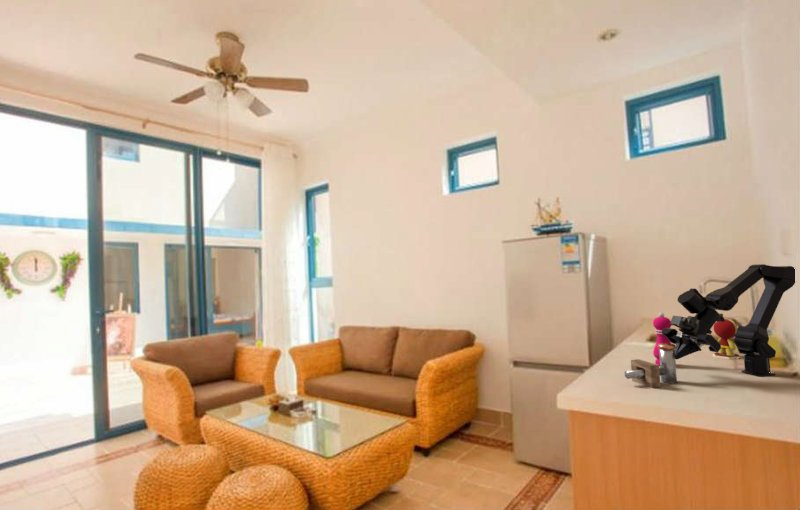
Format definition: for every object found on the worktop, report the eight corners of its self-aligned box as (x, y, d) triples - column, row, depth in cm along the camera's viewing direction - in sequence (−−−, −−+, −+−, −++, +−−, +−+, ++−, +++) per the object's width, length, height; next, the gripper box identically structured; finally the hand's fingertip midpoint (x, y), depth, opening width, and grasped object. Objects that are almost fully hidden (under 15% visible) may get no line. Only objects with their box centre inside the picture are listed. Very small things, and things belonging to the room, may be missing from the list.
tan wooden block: (640, 380, 141) (638, 359, 142) (660, 387, 132) (658, 364, 133) (632, 380, 141) (630, 359, 141) (652, 388, 132) (650, 365, 132)
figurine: (747, 358, 163) (744, 319, 164) (722, 359, 163) (719, 321, 164) (730, 354, 172) (727, 317, 173) (706, 355, 172) (703, 318, 172)
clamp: (669, 378, 141) (667, 342, 141) (682, 382, 136) (679, 345, 136) (622, 383, 138) (620, 346, 139) (633, 387, 133) (630, 349, 134)
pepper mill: (680, 367, 155) (676, 313, 156) (658, 367, 156) (654, 313, 157) (671, 363, 162) (667, 311, 163) (651, 363, 163) (647, 311, 164)
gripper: (664, 304, 149) (638, 338, 147) (710, 309, 131) (681, 347, 129) (685, 325, 150) (659, 358, 148) (734, 333, 132) (705, 371, 130)
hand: (675, 358), depth 139 cm, fingers closed
